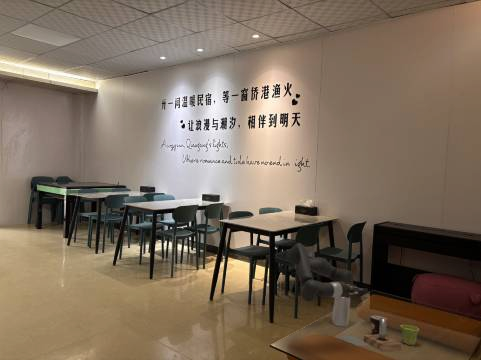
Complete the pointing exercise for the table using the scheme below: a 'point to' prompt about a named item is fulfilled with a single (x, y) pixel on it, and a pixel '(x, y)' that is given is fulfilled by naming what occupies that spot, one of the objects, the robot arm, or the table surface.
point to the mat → (353, 340)
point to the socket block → (382, 343)
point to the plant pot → (409, 334)
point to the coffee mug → (375, 324)
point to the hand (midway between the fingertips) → (361, 288)
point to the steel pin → (382, 329)
